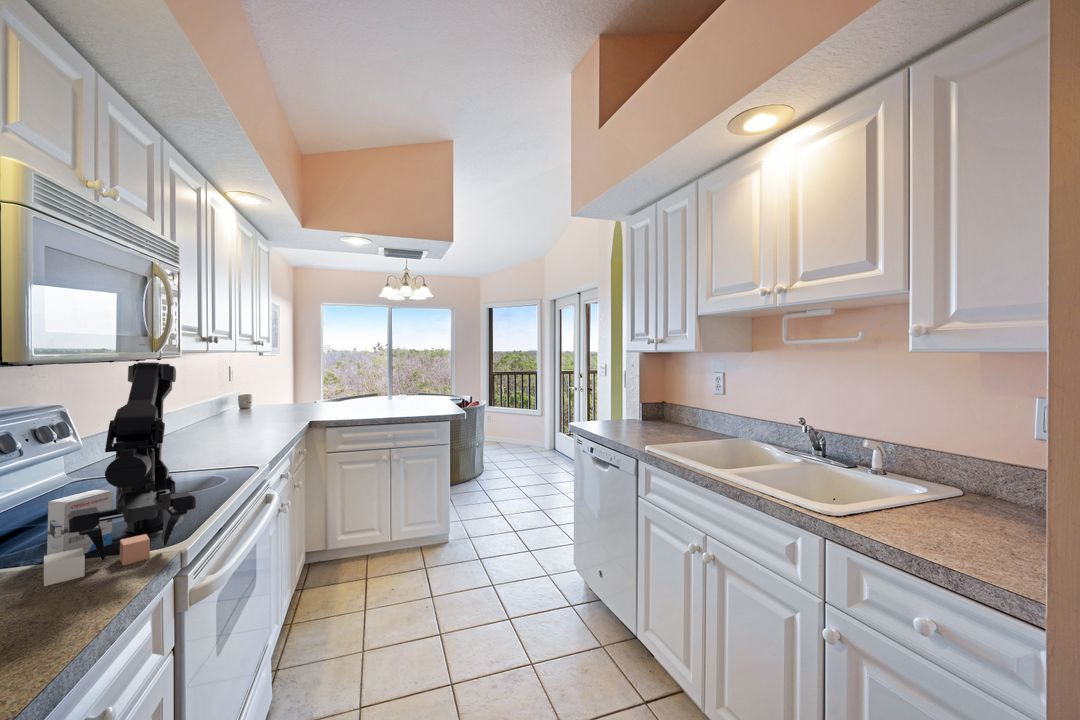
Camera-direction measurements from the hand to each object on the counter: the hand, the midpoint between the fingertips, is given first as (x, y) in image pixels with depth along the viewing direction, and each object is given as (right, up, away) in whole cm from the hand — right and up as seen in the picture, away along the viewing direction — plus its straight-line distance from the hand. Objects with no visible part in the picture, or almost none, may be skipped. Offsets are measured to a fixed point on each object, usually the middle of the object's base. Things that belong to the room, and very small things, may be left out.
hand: (134, 552), depth 90 cm
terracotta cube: (0, -1, 0) cm, 1 cm away
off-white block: (-6, -1, -8) cm, 10 cm away
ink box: (-14, -1, +3) cm, 14 cm away
